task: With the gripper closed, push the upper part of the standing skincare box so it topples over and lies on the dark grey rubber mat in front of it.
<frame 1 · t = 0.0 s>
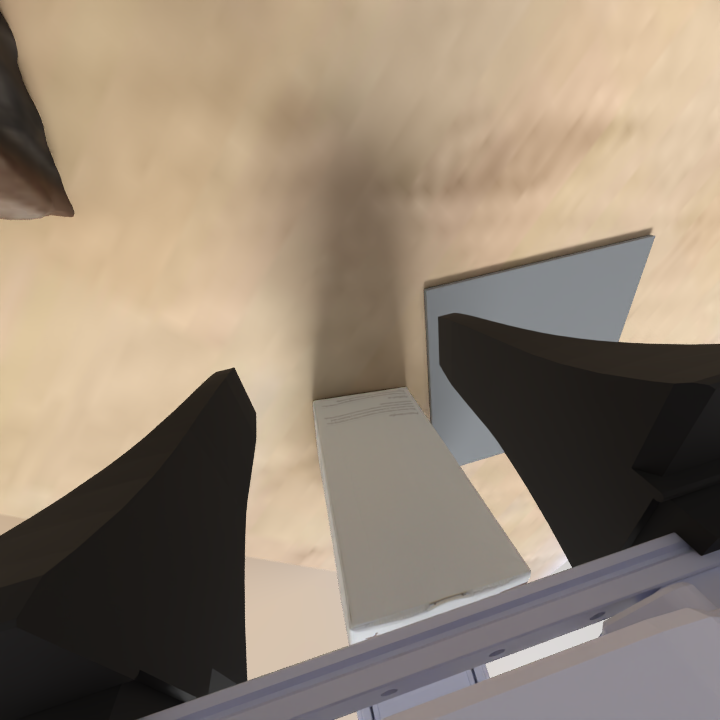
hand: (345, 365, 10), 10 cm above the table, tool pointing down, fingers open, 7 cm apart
mat: (523, 372, 27), on the table
skincare box: (362, 414, 26), on the table
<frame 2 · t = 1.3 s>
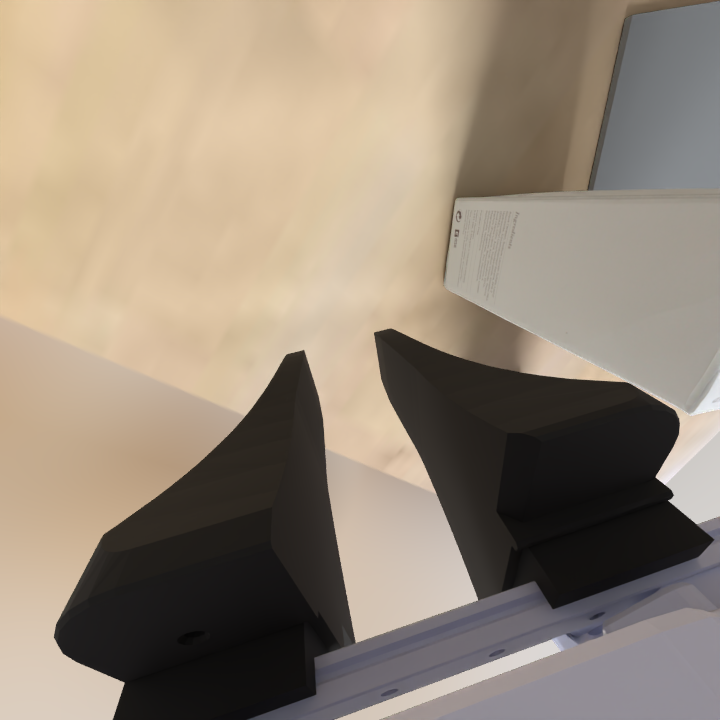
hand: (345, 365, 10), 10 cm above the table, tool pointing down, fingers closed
mat: (690, 197, 22), on the table
skincare box: (501, 240, 21), on the table
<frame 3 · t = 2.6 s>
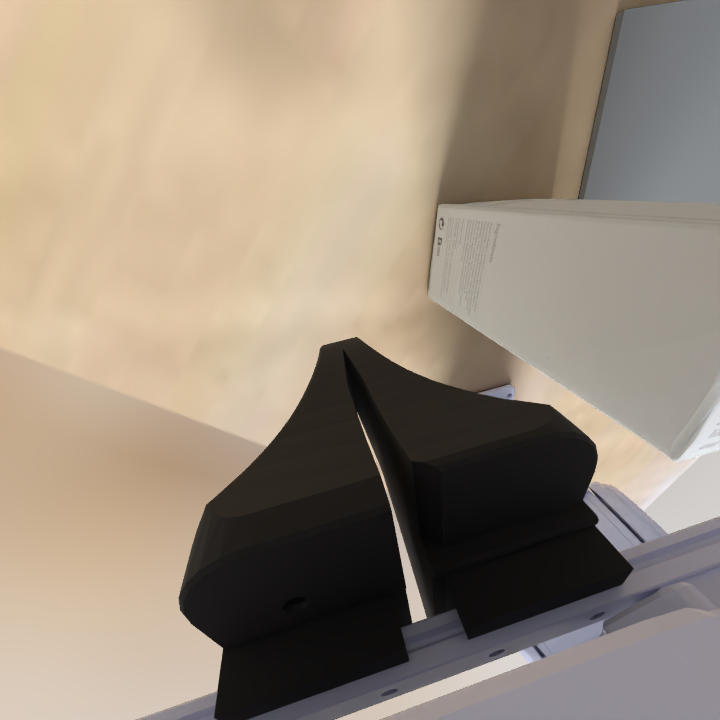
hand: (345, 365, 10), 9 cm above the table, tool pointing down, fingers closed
mat: (687, 203, 21), on the table
skincare box: (488, 247, 20), on the table
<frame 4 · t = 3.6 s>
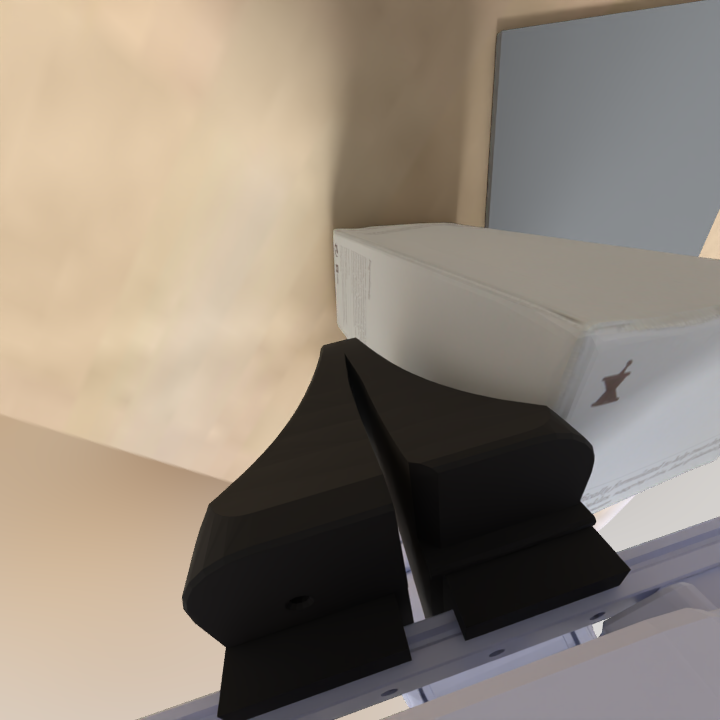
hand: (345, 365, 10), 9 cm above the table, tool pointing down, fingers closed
mat: (605, 223, 20), on the table
skincare box: (396, 270, 19), on the table, touching gripper
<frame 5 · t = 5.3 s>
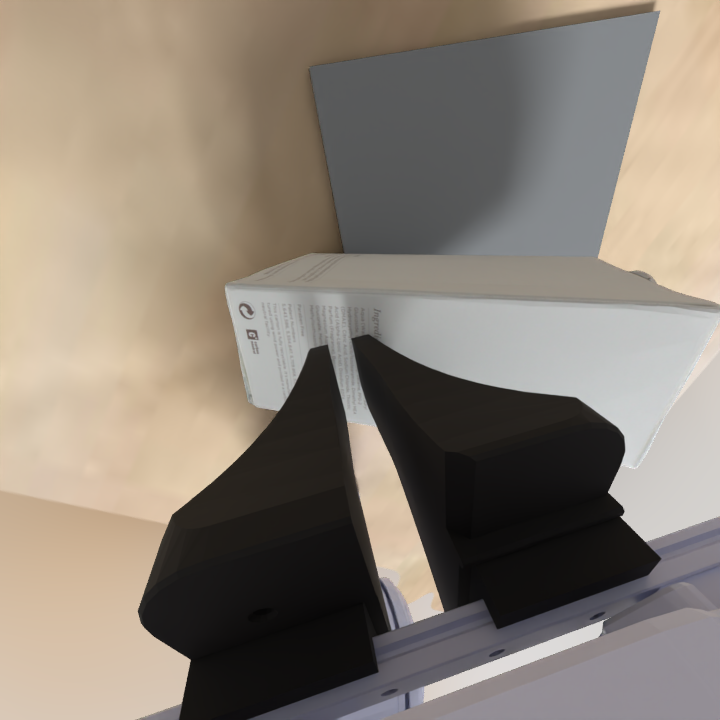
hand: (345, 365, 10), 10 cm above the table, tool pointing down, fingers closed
mat: (480, 251, 20), on the table
skincare box: (281, 314, 16), point 3 cm above the table, touching gripper
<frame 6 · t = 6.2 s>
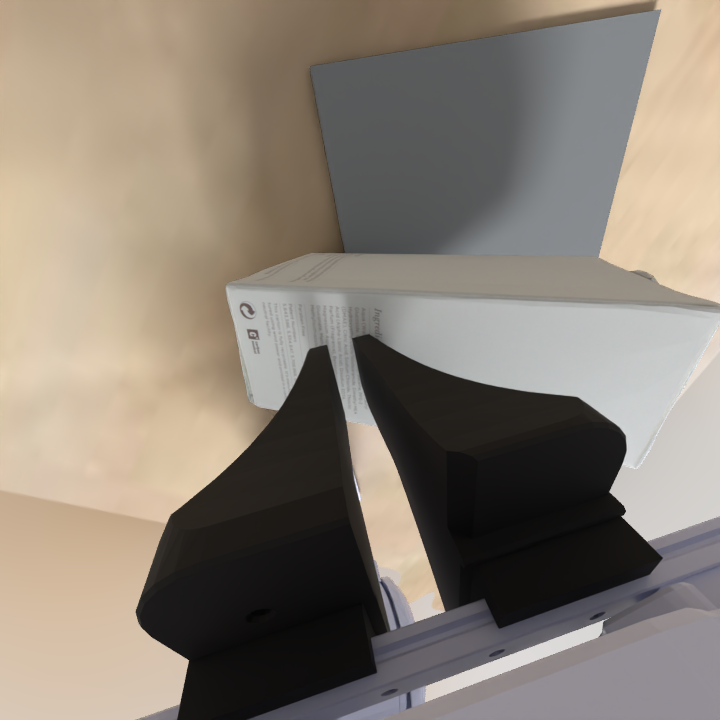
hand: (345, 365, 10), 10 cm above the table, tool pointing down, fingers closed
mat: (481, 251, 20), on the table
skincare box: (282, 314, 16), point 3 cm above the table, touching gripper
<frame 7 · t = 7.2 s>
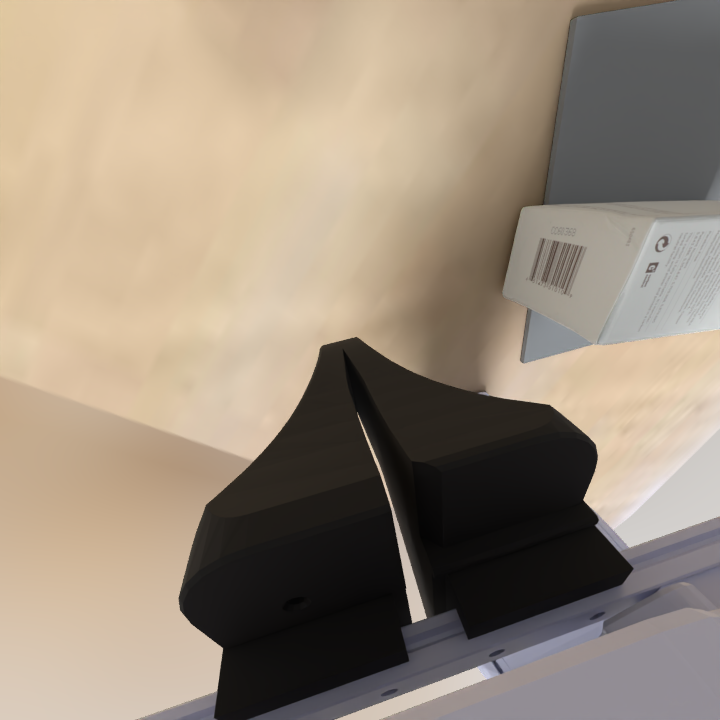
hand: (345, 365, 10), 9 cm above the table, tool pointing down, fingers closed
mat: (656, 209, 21), on the table
skincare box: (547, 264, 16), point 4 cm above the table, touching mat
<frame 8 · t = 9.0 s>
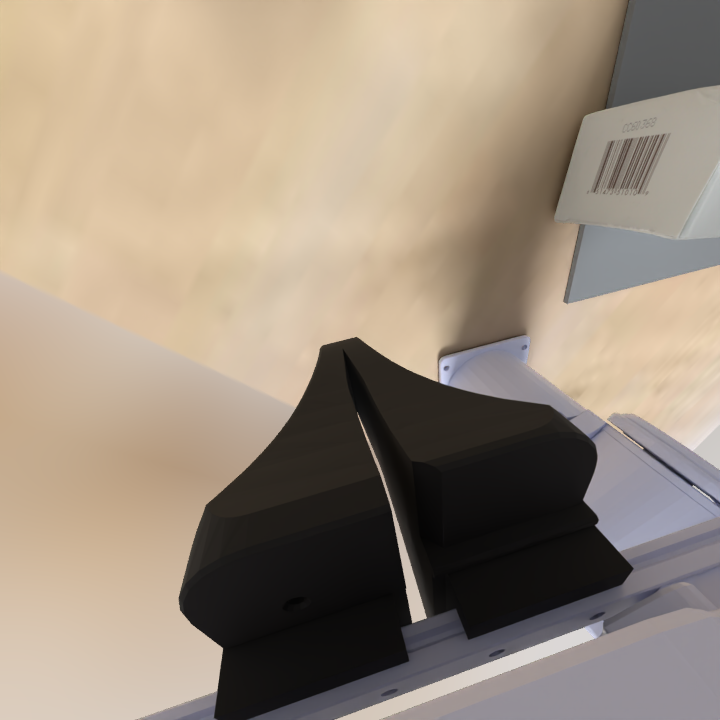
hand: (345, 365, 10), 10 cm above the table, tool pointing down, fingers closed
mat: (716, 129, 20), on the table
skincare box: (617, 166, 15), point 4 cm above the table, touching mat
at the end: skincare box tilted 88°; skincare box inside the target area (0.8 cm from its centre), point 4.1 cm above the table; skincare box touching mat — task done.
